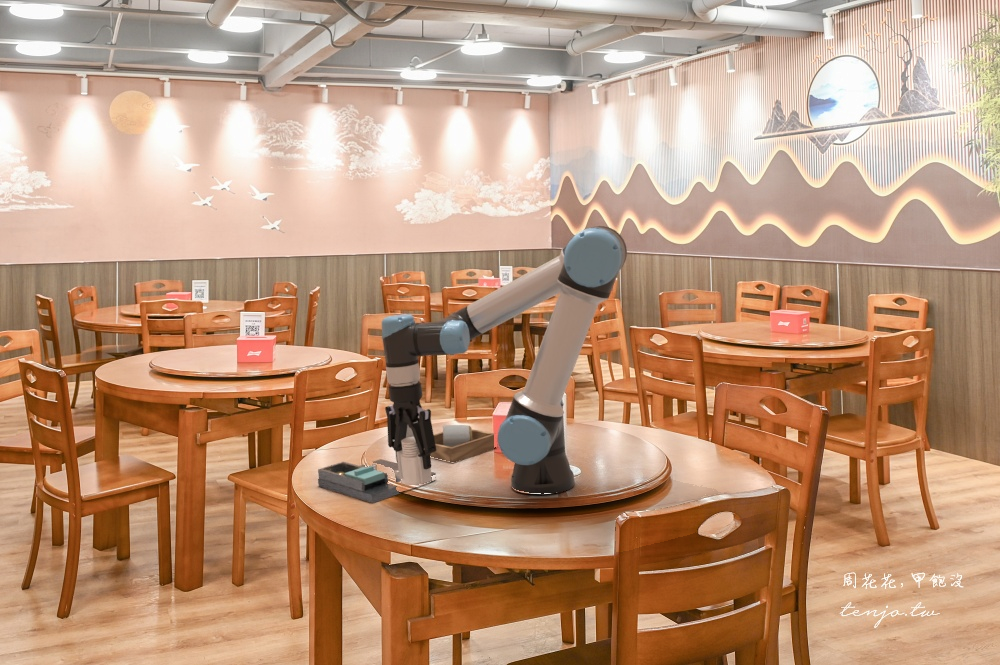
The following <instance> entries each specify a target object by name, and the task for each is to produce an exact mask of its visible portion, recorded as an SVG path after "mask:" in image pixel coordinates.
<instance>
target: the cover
mask: <svg viewBox="0 0 1000 665" xmlns="http://www.w3.org/2000/svg"><path fill="white" fill-rule="evenodd" d="M344 474H345V476H348V477H352V478H355V479H359V480H362V481H364V484H365V485H366V484H369V483H372V482H375V481H378V480H381V479H384V478H385V475H384V472H381V471H377V470H374V468H373V466H369V467H363V468H359V469H356V470H353V471H350V472H347V473H344Z"/></svg>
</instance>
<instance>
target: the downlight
mask: <svg viewBox="0 0 1000 665" xmlns="http://www.w3.org/2000/svg"><path fill="white" fill-rule="evenodd" d="M401 443H402V450H403V453H402V454H401V455H400V457H401V464H402V472H403V479H402V480H401V483H402V484H404V485H419V484H421V480H420V471H419V462H418V455H419V454H420V452H419V449H418V446H417V444H416V441H415V438H414V437H408V438H405V439H403V440H401Z"/></svg>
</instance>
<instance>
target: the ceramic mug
mask: <svg viewBox="0 0 1000 665" xmlns="http://www.w3.org/2000/svg"><path fill="white" fill-rule="evenodd" d="M472 429H473V428H472V426H470V425H467V424H443V425H442V432H443V445H444V446H449V447H454V446H457V445H460V444H463V443H466V442H469V441H472Z"/></svg>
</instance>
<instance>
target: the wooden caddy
mask: <svg viewBox="0 0 1000 665" xmlns="http://www.w3.org/2000/svg"><path fill="white" fill-rule="evenodd" d="M494 434H495V433H493V432H489V431H483V430H478V429H473V428H472V441H469V442H466V443H463V444H460V445H457V446H454V447H449V446H444V445H443V431H442V432H441V431H440V432H439V433H434V439H435V445H436V451H435V452H433V453H431V454H430V456H431V457H434V458H438V459H442V460H446V461H450V462H455V463H457V462H456V461H458V462H460V461H459V460H461V461H463V460H466V459H468V458H472V457H475V456H477V455H481V454H483V453H486V452H490V451H492V450H495V449H494Z"/></svg>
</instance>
